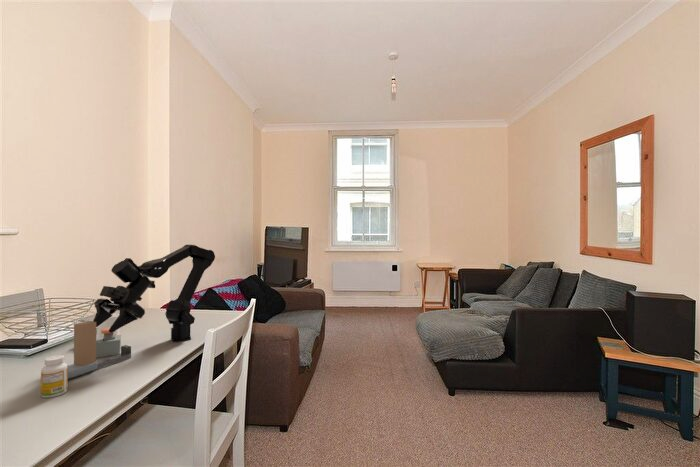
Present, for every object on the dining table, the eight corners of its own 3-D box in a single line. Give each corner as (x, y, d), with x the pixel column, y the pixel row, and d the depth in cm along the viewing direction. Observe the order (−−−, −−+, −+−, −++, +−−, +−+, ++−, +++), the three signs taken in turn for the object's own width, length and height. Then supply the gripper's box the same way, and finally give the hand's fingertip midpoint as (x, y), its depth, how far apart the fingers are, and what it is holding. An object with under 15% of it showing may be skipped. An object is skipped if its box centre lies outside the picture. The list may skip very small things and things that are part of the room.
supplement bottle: (51, 389, 93) (51, 354, 93) (72, 388, 94) (72, 353, 94) (35, 398, 88) (35, 361, 88) (57, 398, 88) (57, 361, 88)
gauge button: (116, 343, 125) (116, 327, 125) (115, 346, 121) (115, 330, 121) (101, 345, 122) (101, 329, 122) (100, 348, 119) (100, 332, 119)
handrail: (125, 356, 118) (125, 345, 118) (131, 357, 117) (131, 346, 117) (47, 382, 97) (47, 369, 97) (53, 384, 96) (53, 370, 96)
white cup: (108, 344, 131) (108, 318, 131) (91, 342, 132) (91, 317, 132) (125, 338, 139) (125, 313, 139) (109, 336, 140) (109, 312, 140)
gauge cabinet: (120, 348, 126) (120, 334, 126) (119, 353, 121) (119, 339, 121) (97, 351, 123) (97, 337, 123) (95, 357, 117) (95, 343, 117)
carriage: (86, 365, 108) (86, 320, 108) (97, 368, 106) (97, 322, 106) (54, 376, 100) (55, 327, 100) (66, 379, 98) (66, 329, 98)
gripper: (100, 275, 118) (62, 313, 107) (136, 278, 111) (100, 319, 100) (122, 294, 125) (89, 331, 115) (158, 298, 118) (126, 338, 108)
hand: (100, 330), depth 109 cm, fingers open, 9 cm apart
